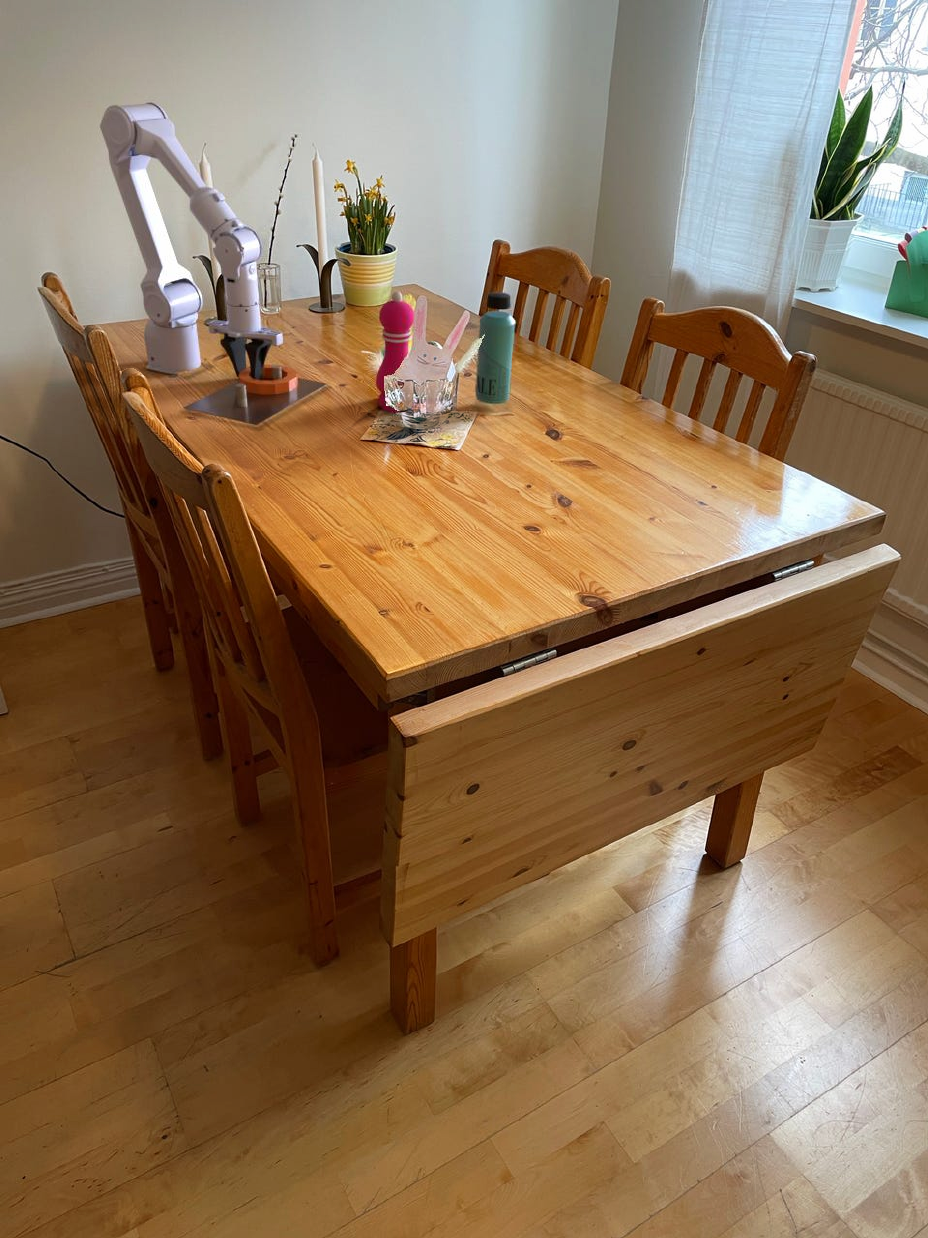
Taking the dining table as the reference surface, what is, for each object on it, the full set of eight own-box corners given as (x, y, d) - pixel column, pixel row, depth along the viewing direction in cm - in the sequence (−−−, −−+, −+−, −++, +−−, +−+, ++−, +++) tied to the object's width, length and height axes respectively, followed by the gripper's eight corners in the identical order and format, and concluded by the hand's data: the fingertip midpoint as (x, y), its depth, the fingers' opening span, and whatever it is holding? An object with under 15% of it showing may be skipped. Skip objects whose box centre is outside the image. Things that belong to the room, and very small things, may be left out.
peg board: (183, 412, 153) (180, 386, 151) (260, 373, 171) (258, 350, 168) (257, 429, 149) (254, 403, 146) (328, 387, 166) (327, 364, 164)
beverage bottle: (510, 400, 165) (519, 289, 154) (508, 414, 160) (517, 300, 149) (475, 397, 166) (482, 286, 154) (472, 410, 160) (478, 296, 149)
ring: (228, 387, 161) (227, 377, 160) (261, 371, 169) (260, 360, 168) (277, 398, 158) (276, 387, 157) (308, 381, 166) (307, 370, 165)
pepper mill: (410, 415, 157) (412, 299, 146) (371, 410, 158) (370, 294, 147) (420, 401, 163) (423, 288, 152) (382, 396, 164) (382, 284, 153)
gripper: (194, 301, 156) (203, 376, 164) (264, 314, 152) (270, 391, 160) (219, 292, 162) (226, 365, 169) (287, 304, 157) (291, 379, 165)
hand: (249, 377), depth 165 cm, fingers open, 3 cm apart
